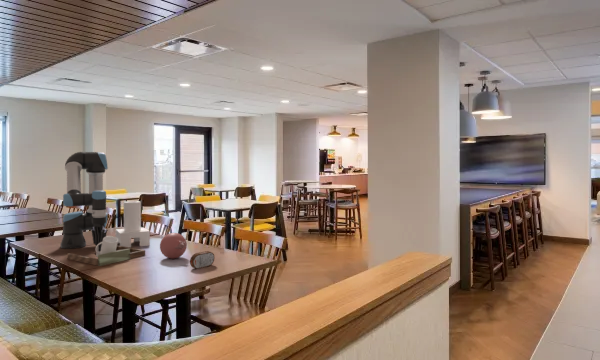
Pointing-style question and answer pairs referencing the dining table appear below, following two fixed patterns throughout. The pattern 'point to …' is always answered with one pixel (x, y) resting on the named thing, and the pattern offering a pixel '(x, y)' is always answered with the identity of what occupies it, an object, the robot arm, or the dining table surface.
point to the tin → (202, 259)
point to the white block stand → (132, 226)
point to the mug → (108, 245)
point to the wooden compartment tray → (109, 256)
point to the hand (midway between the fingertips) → (99, 256)
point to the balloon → (173, 245)
